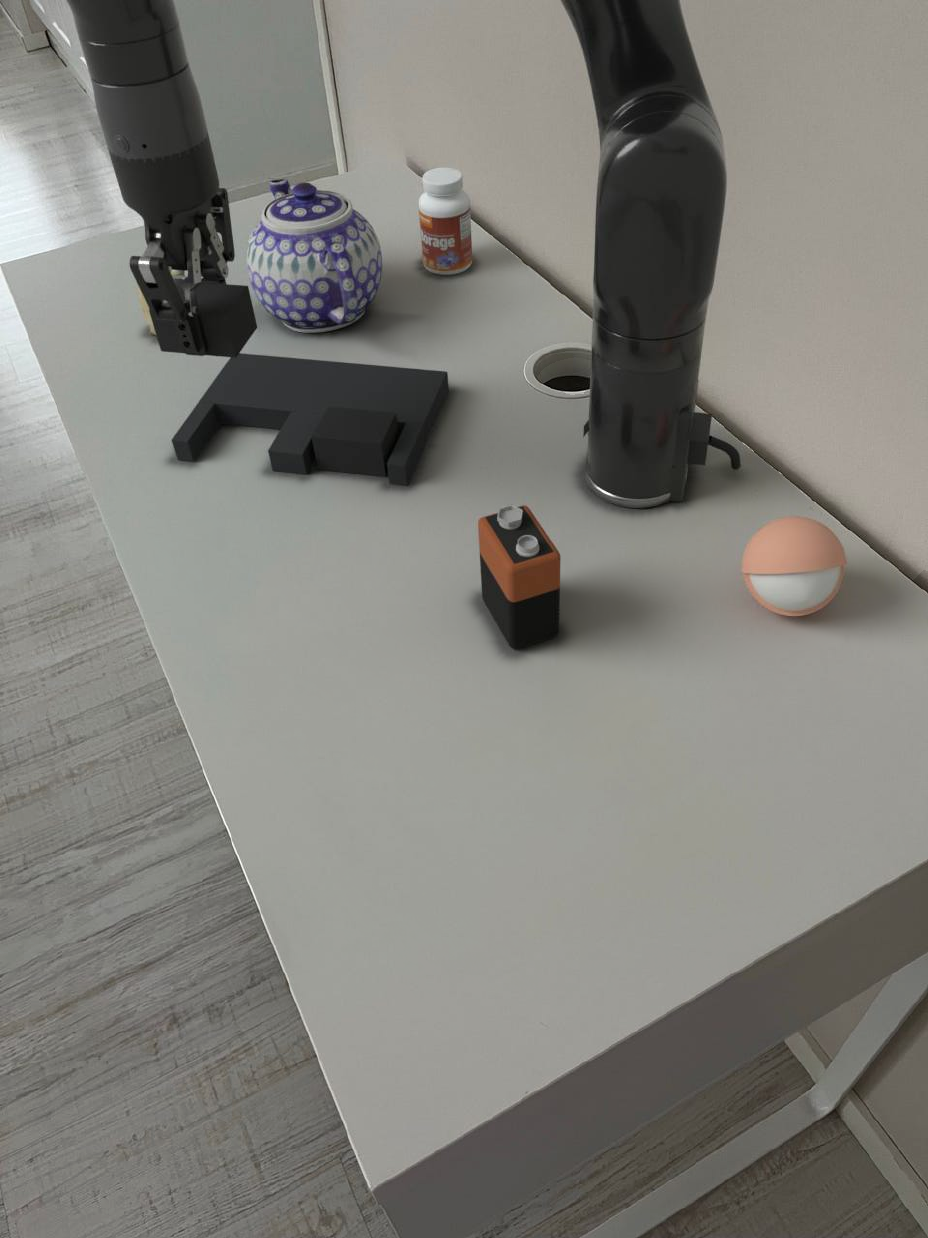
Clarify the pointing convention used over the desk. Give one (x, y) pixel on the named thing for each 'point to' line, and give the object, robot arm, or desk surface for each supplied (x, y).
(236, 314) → the pad
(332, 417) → the pad
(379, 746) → the desk surface
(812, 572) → the toy ball
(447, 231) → the pill bottle
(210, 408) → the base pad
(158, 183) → the robot arm
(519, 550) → the battery
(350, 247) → the teapot
